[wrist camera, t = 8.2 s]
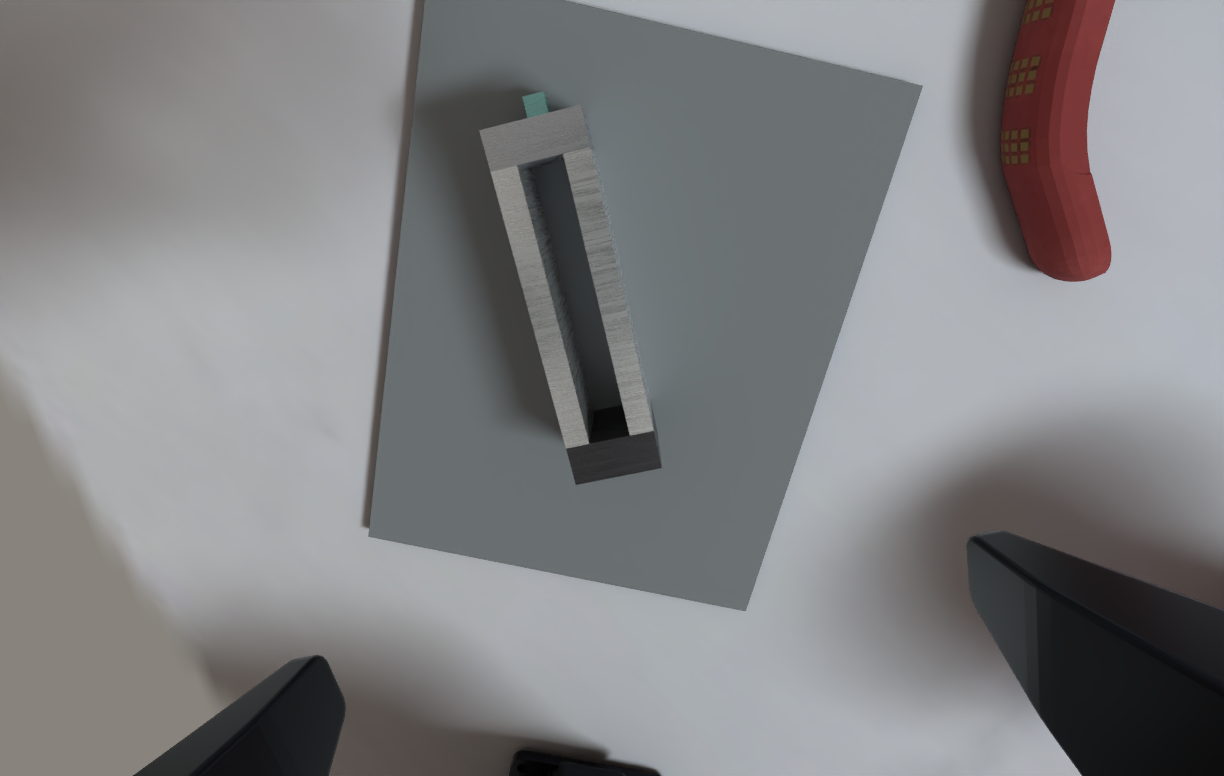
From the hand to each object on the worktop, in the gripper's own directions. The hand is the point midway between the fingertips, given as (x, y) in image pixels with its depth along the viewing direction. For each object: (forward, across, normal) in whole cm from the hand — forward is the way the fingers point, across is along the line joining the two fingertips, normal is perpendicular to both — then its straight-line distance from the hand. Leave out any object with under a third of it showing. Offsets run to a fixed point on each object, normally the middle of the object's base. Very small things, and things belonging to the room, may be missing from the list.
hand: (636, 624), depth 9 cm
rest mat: (+13, 0, -1) cm, 13 cm away
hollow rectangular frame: (+11, +1, +2) cm, 11 cm away
